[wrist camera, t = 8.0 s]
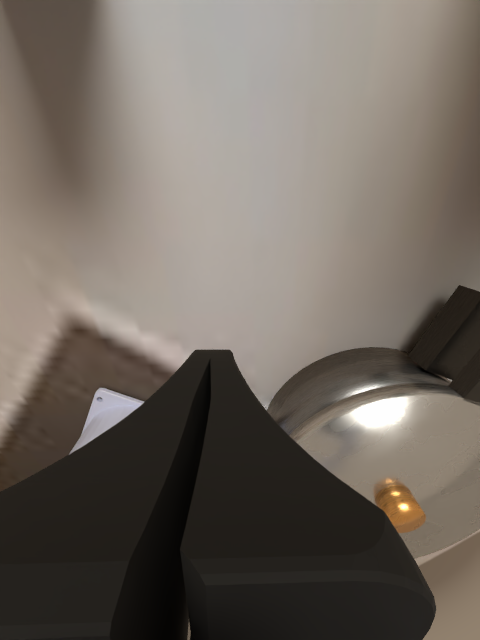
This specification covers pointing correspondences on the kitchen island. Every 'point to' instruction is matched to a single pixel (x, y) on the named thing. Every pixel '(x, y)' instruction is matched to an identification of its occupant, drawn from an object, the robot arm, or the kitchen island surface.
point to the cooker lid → (408, 455)
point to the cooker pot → (384, 364)
